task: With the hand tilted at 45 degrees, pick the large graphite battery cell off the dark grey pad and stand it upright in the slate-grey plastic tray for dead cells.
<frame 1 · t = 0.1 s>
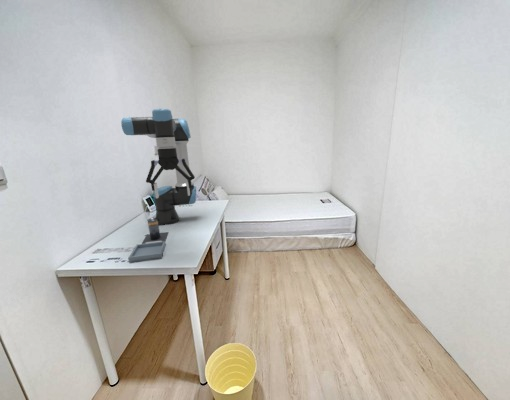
hand: (173, 196, 105), 28 cm above the table, tool pointing down, fingers open, 13 cm apart
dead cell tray: (148, 253, 112), on the table
battery cell: (155, 238, 128), point 1 cm above the table, touching dark grey pad
dark grey pad: (155, 239, 128), on the table
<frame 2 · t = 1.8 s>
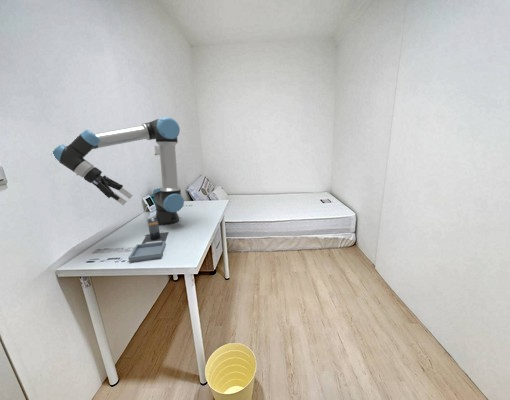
hand: (128, 199, 119), 24 cm above the table, tool tilted 45°, fingers open, 13 cm apart
nothing on the table moved.
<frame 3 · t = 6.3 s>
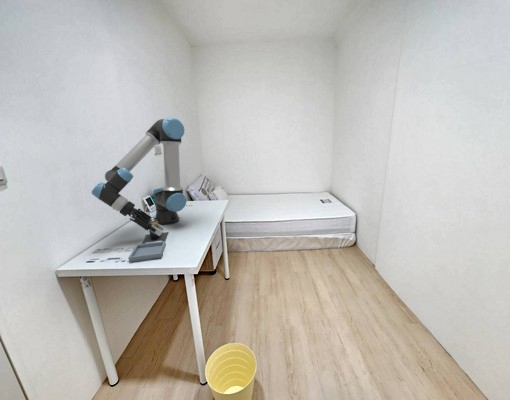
hand: (161, 231, 128), 4 cm above the table, tool tilted 45°, fingers closed on battery cell, 5 cm apart
battery cell: (155, 238, 128), point 1 cm above the table, touching dark grey pad, gripper
when the fingers open (6 cm above the table, at t = 11.4 s): battery cell drops 2 cm, resting on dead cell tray.
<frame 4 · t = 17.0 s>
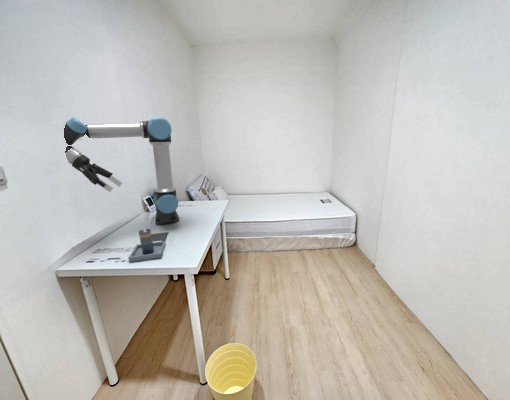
hand: (116, 187, 121), 30 cm above the table, tool tilted 45°, fingers open, 13 cm apart
battery cell: (148, 252, 112), point 1 cm above the table, touching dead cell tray
at the end: battery cell inside the target area on the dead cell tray (0.1 cm from its centre), point 0.8 cm above the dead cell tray's base; battery cell tilted 0°; the gripper is holding nothing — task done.
